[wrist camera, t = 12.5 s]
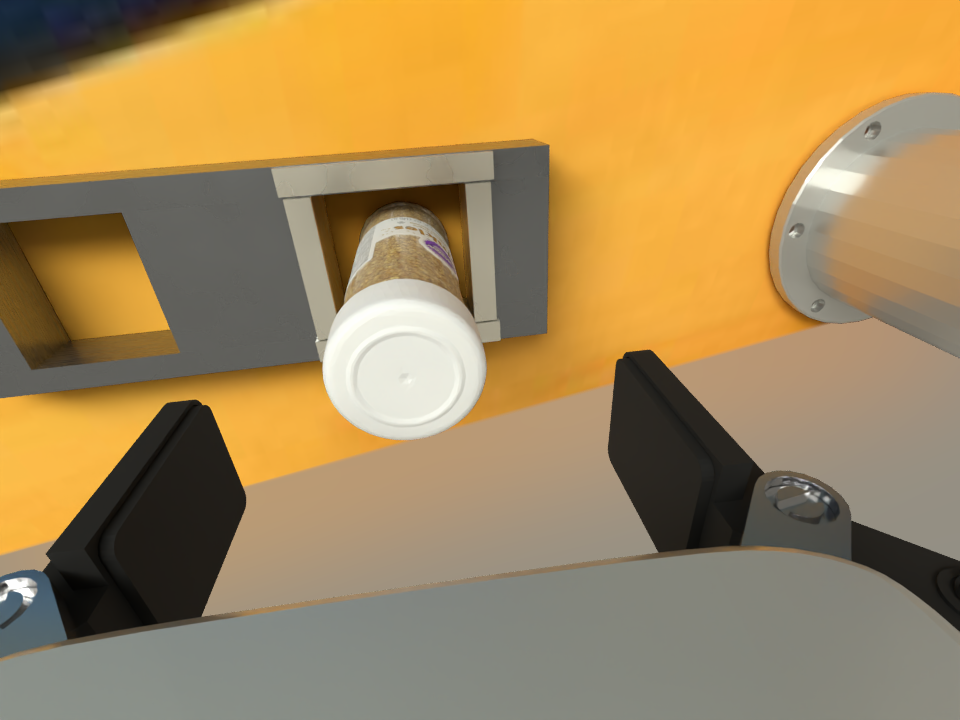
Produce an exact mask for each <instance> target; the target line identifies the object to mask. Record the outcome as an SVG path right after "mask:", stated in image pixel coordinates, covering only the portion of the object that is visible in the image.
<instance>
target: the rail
mask: <svg viewBox="0 0 960 720" xmlns="http://www.w3.org/2000/svg"><path fill="white" fill-rule="evenodd" d="M448 184H458V188H459V201H460V214H461V227H462V241H463V254H464V267H465V280H466V293H467V297H465V298H462V299H463V302H464V305H465V306H466V307H467V309H468V310H469V311H470V313H471V315H472V316H473V318H474V320H475V322H476V325H477V327H478V330H479V333H480V336H481V340H482V343H484V342H493V341H501V339H502V338H511V337H519V336H528V335H536V334H544V333H547V283H548V207H549V145H548V144H545V143H542V142H539V141H537V140H534V139H527V140H514V141H501V142H488V143H475V144H462V145H450V146H437V147H424V148H411V149H398V150H385V151H372V152H359V153H347V154H334V155H321V156H308V157H295V158H282V159H269V160H256V161H244V162H231V163H218V164H205V165H192V166H179V167H166V168H153V169H141V170H128V171H115V172H102V173H89V174H76V175H63V176H50V177H38V178H25V179H12V180H0V398H6V397H15V396H23V395H32V394H40V393H48V392H57V391H65V390H74V389H82V388H90V387H99V386H107V385H116V384H124V383H132V382H141V381H149V380H158V379H166V378H174V377H183V376H191V375H200V374H208V373H216V372H225V371H233V370H242V369H250V368H259V367H267V366H275V365H284V364H292V363H301V362H309V361H317V360H320V362H323V357H324V352H325V348H326V344H327V340H328V336H329V333H330V329H331V326H332V324H333V321H334V319H335V317H336V315H337V314H338V312H339V311H340V309H341V308H342V307H343V305H344V299H345V295H344V290H343V285H342V281H341V276H340V271H339V266H338V262H337V257H336V252H335V247H334V243H333V238H332V233H331V228H330V224H329V219H328V214H327V209H326V205H325V200H324V195H332V194H343V193H355V192H367V191H378V190H390V189H402V188H413V187H425V186H437V185H448ZM110 213H122V215H123V217H124V220H125V222H126V224H127V227H128V229H129V232H130V234H131V236H132V239H133V241H134V243H135V246H136V248H137V251H138V253H139V255H140V258H141V260H142V263H143V265H144V267H145V270H146V272H147V275H148V277H149V279H150V282H151V284H152V286H153V289H154V291H155V294H156V296H157V298H158V301H159V303H160V306H161V308H162V310H163V313H164V315H165V317H166V320H167V322H168V325H169V327H170V329H171V330H164V331H155V332H146V333H137V334H128V335H118V336H109V337H100V338H91V339H82V340H73V341H70V339H69V337H68V336H67V334H66V332H65V330H64V328H63V326H62V324H61V323H60V321H59V319H58V317H57V315H56V313H55V312H54V310H53V308H52V306H51V304H50V302H49V300H48V299H47V297H46V295H45V293H44V291H43V289H42V288H41V286H40V284H39V282H38V280H37V278H36V276H35V275H34V273H33V271H32V269H31V267H30V265H29V263H28V262H27V260H26V258H25V256H24V254H23V252H22V251H21V249H20V247H19V245H18V243H17V241H16V239H15V238H14V236H13V234H12V232H11V230H10V228H9V227H8V225H7V223H6V222H17V221H28V220H40V219H52V218H63V217H75V216H87V215H98V214H110Z"/></svg>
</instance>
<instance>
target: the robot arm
mask: <svg viewBox="0 0 960 720" xmlns="http://www.w3.org/2000/svg"><path fill="white" fill-rule="evenodd" d="M769 260H770V272H771V275H772V278H773V281H774V284H775V287H776V289H777V290H778V292H779V293H780V295H781V297H782V298H783V300H784V301H786V302H787V303H788V304H789V305H790V306H791V307H793V308H794V309H795V310H797V311H799V312H800V313H802V314H804V315H806V316H807V317H809V318H812V319H815V320H818V321H822V322H825V323H838V324H842V323H851V322H859V321H862V320H866V319H869V318H872V317H874V318H876V319H878V320H880V321H882V322H884V323H886V324H889V325H891V326H893V327H895V328H897V329H899V330H901V331H903V332H905V333H908V334H910V335H912V336H914V337H916V338H918V339H920V340H922V341H924V342H927V343H929V344H931V345H933V346H935V347H937V348H939V349H941V350H943V351H945V352H948V353H950V354H952V355H954V356H956V357H958V358H960V96H958V95H955V94H951V93H929V92H927V93H913V94H905V95H901V96H898V97H895V98H891V99H888V100H884V101H882V102H880V103H878V104H876V105H874V106H872V107H870V108H868V109H866V110H864V111H862V112H860V113H859V114H858V115H856V116H855V117H853V118H852V119H850V120H849V121H848V122H846V123H845V124H843V125H842V126H841V127H839V128H838V129H837V130H836V131H835V132H834V133H833V134H832V135H831V136H829V137H828V138H827V139H826V140H825V141H824V142H823V143H822V144H821V145H820V146H819V147H818V148H817V149H816V150H815V152H814V153H813V154H812V155H811V157H810V158H809V159H808V160H807V161H806V163H805V164H804V165H803V166H802V167H801V169H800V171H799V172H798V174H797V175H796V177H795V179H794V180H793V182H792V183H791V185H790V186H789V188H788V190H787V192H786V194H785V196H784V199H783V201H782V203H781V205H780V207H779V210H778V212H777V215H776V219H775V222H774V226H773V229H772V233H771V240H770V249H769ZM608 454H609V458H610V461H611V463H612V465H613V467H614V469H615V471H616V473H617V475H618V477H619V479H620V480H621V482H622V484H623V486H624V488H625V490H626V492H627V494H628V495H629V497H630V499H631V501H632V503H633V505H634V507H635V509H636V511H637V512H638V515H639V516H640V518H641V520H642V522H643V524H644V526H645V528H646V530H647V531H648V533H649V535H650V537H651V539H652V541H653V543H654V545H655V547H656V549H657V550H658V552H659V553H653V554H645V555H636V556H628V557H620V558H611V559H604V560H597V561H589V562H582V563H575V564H567V565H561V566H553V567H545V568H538V569H531V570H524V571H517V572H509V573H502V574H495V575H488V576H480V577H473V578H466V579H460V580H452V581H445V582H438V583H431V584H423V585H416V586H409V587H402V588H396V589H389V590H382V591H375V592H368V593H361V594H354V595H347V596H340V597H333V598H326V599H320V600H312V601H306V602H299V603H293V604H285V605H279V606H272V607H265V608H259V609H252V610H245V611H239V612H232V613H225V614H218V615H211V616H205V617H201V616H202V613H203V611H204V609H205V606H206V604H207V601H208V598H209V596H210V594H211V591H212V589H213V586H214V584H215V581H216V579H217V577H218V574H219V572H220V569H221V567H222V564H223V562H224V559H225V557H226V555H227V552H228V550H229V547H230V545H231V542H232V540H233V537H234V535H235V532H236V530H237V528H238V525H239V522H240V520H241V518H242V515H243V513H244V510H245V507H246V495H245V491H244V489H243V486H242V484H241V482H240V479H239V477H238V474H237V472H236V469H235V467H234V464H233V462H232V460H231V457H230V455H229V452H228V450H227V447H226V445H225V442H224V440H223V438H222V435H221V433H220V430H219V428H218V425H217V423H216V420H215V418H214V416H213V413H212V411H211V409H210V407H209V406H207V405H202V404H201V403H200V402H199V401H198V400H188V401H179V402H170V403H167V404H166V405H164V406H163V408H162V409H161V410H160V412H159V413H158V414H157V415H156V417H155V418H154V419H153V420H152V422H151V423H150V424H149V425H148V427H147V428H146V429H145V430H144V432H143V433H142V434H141V435H140V437H139V438H138V439H137V440H136V442H135V443H134V444H133V445H132V447H131V448H130V449H129V450H128V452H127V453H126V454H125V455H124V457H123V458H122V459H121V460H120V462H119V463H118V464H117V465H116V467H115V468H114V469H113V470H112V472H111V473H110V474H109V475H108V477H107V478H106V479H105V480H104V482H103V483H102V484H101V485H100V487H99V488H98V489H97V490H96V492H95V493H94V494H93V495H92V497H91V498H90V499H89V500H88V502H87V503H86V504H85V505H84V507H83V508H82V509H81V510H80V512H79V513H78V514H77V515H76V517H75V518H74V519H73V520H72V522H71V523H70V524H69V525H68V527H67V528H66V529H65V530H64V532H63V533H62V534H61V535H60V537H59V538H58V539H57V540H56V542H55V543H54V544H53V546H52V547H51V548H50V549H49V550H48V552H47V553H46V555H47V556H48V557H49V559H50V560H51V561H50V563H49V564H48V565H47V566H46V568H45V569H44V570H43V572H41V571H37V570H21V571H17V572H14V573H10V574H6V575H4V576H1V577H0V720H960V561H958V560H955V559H953V558H950V557H947V556H944V555H942V554H939V553H936V552H934V551H931V550H928V549H926V548H923V547H920V546H918V545H915V544H912V543H910V542H907V541H904V540H902V539H899V538H896V537H893V536H891V535H888V534H885V533H883V532H880V531H877V530H875V529H872V528H869V527H867V526H864V525H861V524H859V523H856V522H853V521H851V512H850V509H849V505H848V504H847V502H846V501H845V500H844V498H843V497H842V496H841V495H840V494H839V493H838V492H837V491H835V490H834V489H833V488H832V487H830V486H829V485H827V484H825V483H823V482H822V481H820V480H818V479H816V478H813V477H811V476H808V475H805V474H802V473H797V472H792V471H772V472H767V473H764V472H763V471H762V470H761V469H760V468H759V467H758V466H757V464H756V463H755V462H754V461H753V460H752V459H751V458H750V457H749V456H748V455H747V454H746V452H745V451H744V450H743V449H742V448H741V447H740V446H739V445H738V444H737V443H736V442H735V440H734V439H733V438H732V437H731V436H730V435H729V434H728V433H727V432H726V431H725V430H724V428H723V427H722V426H721V425H720V424H719V423H718V422H717V421H716V420H715V419H714V418H713V416H712V415H711V414H710V413H709V412H708V411H707V410H706V409H705V408H704V407H703V406H702V404H700V403H699V401H698V400H697V399H696V398H695V397H694V396H693V395H692V394H691V393H690V392H689V391H688V389H687V388H686V387H685V386H684V385H683V384H682V383H681V382H680V381H679V380H678V378H677V377H676V376H675V375H674V374H673V373H672V372H671V371H670V370H669V369H668V368H667V366H666V365H665V364H664V363H663V362H662V361H661V360H660V359H659V358H658V357H657V356H656V354H655V353H654V352H653V351H651V350H642V351H633V352H626V353H625V354H624V356H623V359H618V360H617V362H616V370H615V380H614V390H613V402H612V412H611V423H610V432H609V443H608Z"/></svg>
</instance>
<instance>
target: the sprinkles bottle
mask: <svg viewBox="0 0 960 720" xmlns="http://www.w3.org/2000/svg"><path fill="white" fill-rule="evenodd" d="M486 371H487V365H486V356H485V352H484V348H483V344H482V340H481V336H480V333H479V330H478V327H477V325H476V322H475V320H474V318H473V316H472V315H471V313H470V311H469V310H468V309H467V307H466V306H465V305H464V302H463V299H462V296H461V292H460V289H459V281H458V276H457V273H456V269H455V265H454V262H453V258H452V255H451V252H450V249H449V242H448V238H447V233H446V231H445V229H444V227H443V225H442V224H441V222H440V220H439V219H438V218H437V217H436V216H435V215H434V214H433V213H432V212H431V211H430V210H428V209H426V208H424V207H422V206H420V205H418V204H414V203H409V202H395V203H390V204H387V205H385V206H383V207H381V208H379V209H378V210H376V211H375V212H374V213H373V214H372V215H371V216H370V217H369V218H368V219H367V220H366V222H365V224H364V227H363V228H362V230H361V234H360V239H359V246H358V249H357V253H356V256H355V260H354V264H353V268H352V272H351V275H350V279H349V282H348V286H347V290H346V293H345V299H344V305H343V307H342V308H341V309H340V311H339V312H338V314H337V315H336V317H335V319H334V321H333V324H332V326H331V329H330V333H329V336H328V340H327V344H326V348H325V352H324V357H323V380H324V384H325V387H326V391H327V393H328V395H329V397H330V400H331V401H332V403H333V405H334V406H335V408H336V409H337V410H338V411H339V413H340V414H341V415H342V416H343V417H345V418H346V419H347V420H348V421H349V422H350V423H352V424H353V425H354V426H356V427H357V428H359V429H361V430H363V431H365V432H367V433H370V434H372V435H375V436H378V437H382V438H387V439H393V440H415V439H421V438H426V437H430V436H433V435H436V434H438V433H441V432H443V431H445V430H447V429H449V428H450V427H452V426H454V425H455V424H457V423H458V422H459V421H461V420H462V419H463V418H464V417H465V416H466V415H467V414H468V413H469V412H470V411H471V409H472V408H473V407H474V405H475V404H476V402H477V401H478V399H479V397H480V395H481V393H482V390H483V387H484V384H485V379H486Z"/></svg>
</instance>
